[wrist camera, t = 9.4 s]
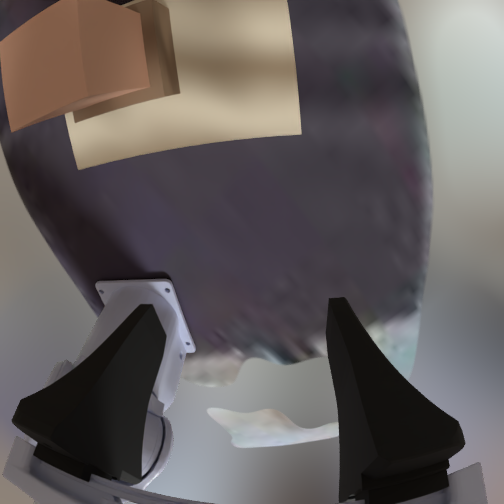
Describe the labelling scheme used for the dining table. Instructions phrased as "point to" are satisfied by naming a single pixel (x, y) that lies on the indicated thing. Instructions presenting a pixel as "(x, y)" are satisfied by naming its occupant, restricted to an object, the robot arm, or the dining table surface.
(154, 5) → the base block
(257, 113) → the board
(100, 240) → the dining table surface
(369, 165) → the dining table surface
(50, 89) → the top block
